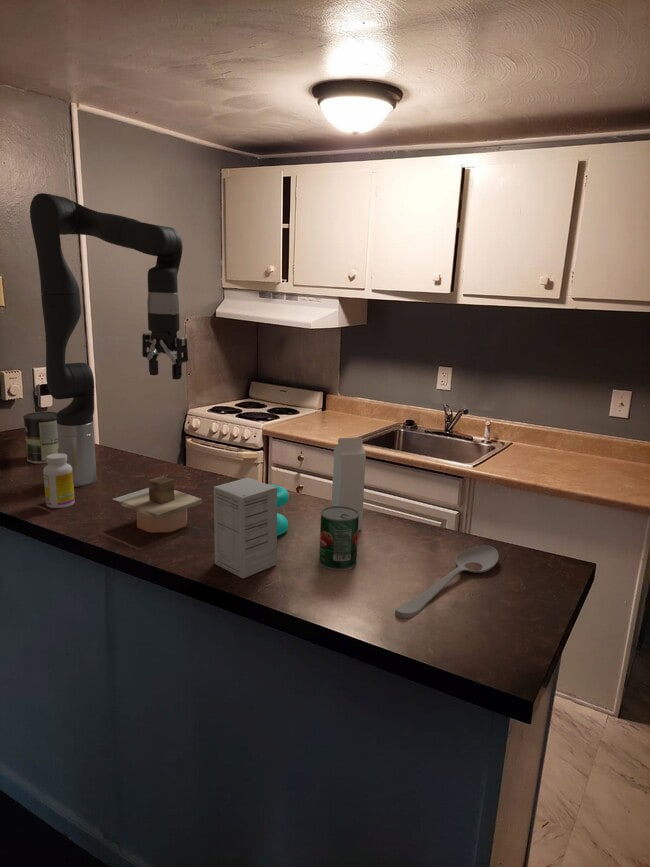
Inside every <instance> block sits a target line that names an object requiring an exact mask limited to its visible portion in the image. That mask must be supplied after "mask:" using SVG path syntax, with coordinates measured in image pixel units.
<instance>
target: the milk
mask: <svg viewBox="0 0 650 867" xmlns="http://www.w3.org/2000/svg"><path fill="white" fill-rule="evenodd" d="M365 450H366V449H365V447H364V445H363V437H362V436H360V437H359V436H358V437H339V438H338V439H337V445H336V446H335V447H333V464H332V467H333V468H332V486H331V487H332V491H331V506H345V507H350V508H353V509H355V510H357V511H358V512H359V523H358V531H362V529H363V517H364V516H363V514H364V513H363V511H364V495H365V479H366V478H365V476H366V461H367V460H366V458H367V457H366V456H367V453H366V451H365Z"/></svg>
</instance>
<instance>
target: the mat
mask: <svg viewBox="0 0 650 867" xmlns="http://www.w3.org/2000/svg"><path fill="white" fill-rule="evenodd" d="M148 492H149V487H146V488H143V489H140V490H137V491H134V492H130V493H128V494H124V495H121V496H118V497H114V498H112V500H113V501H116V502H119V503H121V501H123V500H126V499H129V498H133V497H136V496H139V495H142V494H145V493H148ZM193 496H194V495H193ZM194 497H196V496H194Z"/></svg>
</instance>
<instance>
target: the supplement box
mask: <svg viewBox="0 0 650 867" xmlns="http://www.w3.org/2000/svg"><path fill="white" fill-rule="evenodd" d="M271 485H272V484H268V483H264V482H261V481H259V480H256V479H254V478H251V477H244V478H241V479H237V480H234V481H231V482H226V483H222V484H219V485H215V486H213V518H214V519H213V520H214V523H213V524H214V525H213V526H214V527H213V528H214V533H213V536H214V564H215V565H216V566H218V567H221V569H224V570H226V571H228V572H230V573H232V574H233V575H235V576H237V577H239V578H241V579H245V578H249V577H250V576H253V575H256V574H257V573H259V572H260V573H261V572H262V571H265V570H267V569H269V568H272V567H274V566H277V564H278V563H277V562H278V556H277V555H278V536H277V513H278V508H277V488H276V487H273V486H271Z"/></svg>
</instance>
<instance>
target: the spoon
mask: <svg viewBox="0 0 650 867" xmlns="http://www.w3.org/2000/svg"><path fill="white" fill-rule="evenodd" d="M454 560H455V563H456V565H457V567H456V568H455V569H453V570H451V571H450V572H449V573H447V574H446V575H445V576H443V577H441V579H439V580H438V581H436V582H435V583H434V584H433V585H431V586H429V587H428V588H427V589H425V590H423V592H420V594H418V595H417V596H415V597H413V598H412V599H410V600H409V601H406V603H403V604H402V605H399V606H398V607H396V608H395V611H394V614H395V616H396V617H398V618H400V619H409V618H410V619H411V618H412V617H414V616H416V615H417V614H419V613H420V612H421V611H422V610H423V609H424V608H425V607H426V606H427V604H429V602H431V600H433V599H434V597H436V596H437V595H438V594H439V593H440V592H441V591H443V589H444V588H445V587H446V586H447V585H448V584H449V583H450V582H451V581H453V579H454V578H455V577H456V576H457V575H458V574H459V573H461V572H465V571H467V572H470V573H474V574H476V573H478V574H481V573H485V572H488V571H490V570H492V568H494V567H495V566H496V564H497V563H498V560H499V551H498V550H497V549H496V548H495V547H493V546H491V545H475V546H473V547H468V548H467V549H464V550H463V551H461V552H460V553H459V554H458V555H457V556H456V558H455V559H454ZM469 563H477V564H479V565H481V567H482V568H481V569H479V570H474V569H470V568H468V567H467V566H466V564H469Z"/></svg>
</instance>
